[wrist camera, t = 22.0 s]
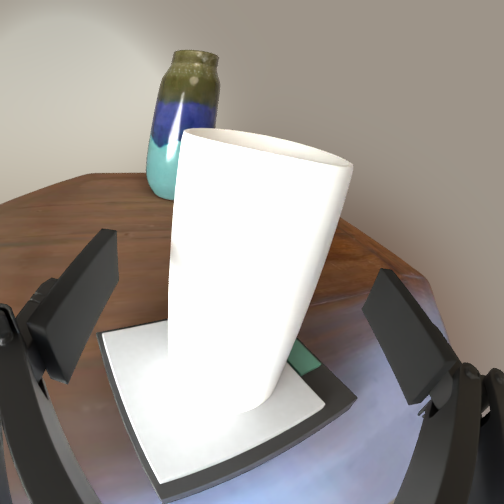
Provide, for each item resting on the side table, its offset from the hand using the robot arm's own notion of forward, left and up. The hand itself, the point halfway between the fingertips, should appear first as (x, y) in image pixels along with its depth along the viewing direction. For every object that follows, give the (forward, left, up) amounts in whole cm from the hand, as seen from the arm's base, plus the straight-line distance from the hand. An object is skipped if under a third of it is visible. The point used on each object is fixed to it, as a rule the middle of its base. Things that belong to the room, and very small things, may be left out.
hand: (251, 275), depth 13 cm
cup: (+2, -1, -10) cm, 11 cm away
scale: (+2, -1, -13) cm, 13 cm away
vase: (+48, -14, -13) cm, 52 cm away
